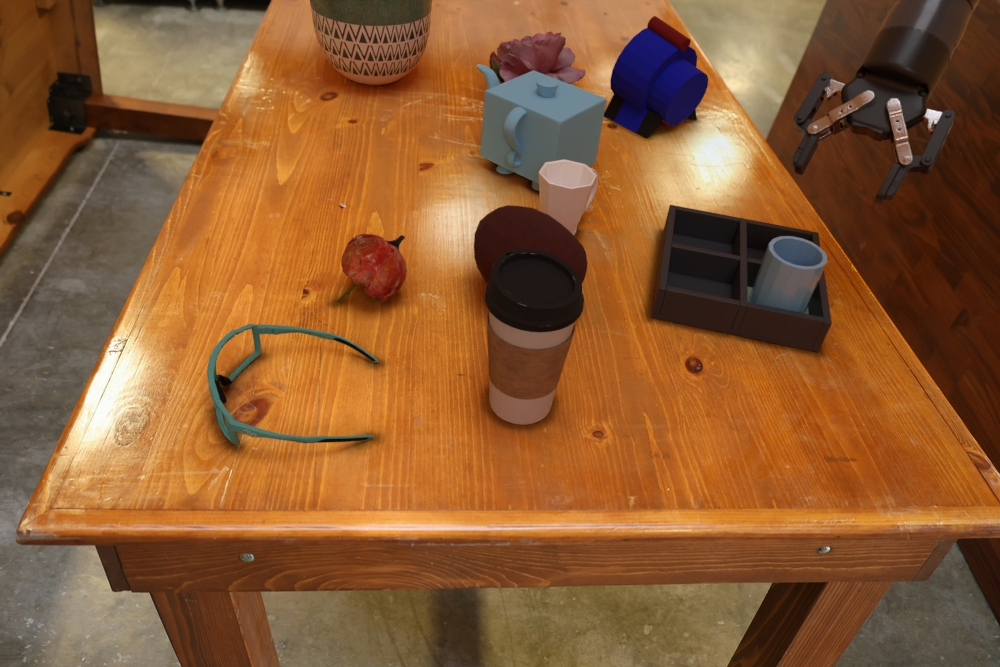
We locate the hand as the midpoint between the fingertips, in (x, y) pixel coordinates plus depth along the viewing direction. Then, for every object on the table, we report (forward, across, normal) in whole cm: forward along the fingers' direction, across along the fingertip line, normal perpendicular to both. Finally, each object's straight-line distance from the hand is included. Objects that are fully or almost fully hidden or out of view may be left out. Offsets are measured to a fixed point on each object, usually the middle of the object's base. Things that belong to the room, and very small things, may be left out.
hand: (837, 186), depth 79 cm
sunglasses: (+44, -30, -25) cm, 58 cm away
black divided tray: (+12, -6, +8) cm, 16 cm away
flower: (-6, -54, +27) cm, 61 cm away
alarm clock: (-10, -36, +32) cm, 49 cm away
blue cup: (+13, -1, +6) cm, 15 cm away
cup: (+15, -28, +6) cm, 32 cm away
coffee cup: (+34, -14, -15) cm, 40 cm away
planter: (+4, -76, +16) cm, 78 cm away
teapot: (+8, -42, +12) cm, 44 cm away
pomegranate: (+33, -36, -14) cm, 50 cm away
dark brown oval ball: (+25, -23, -5) cm, 35 cm away
